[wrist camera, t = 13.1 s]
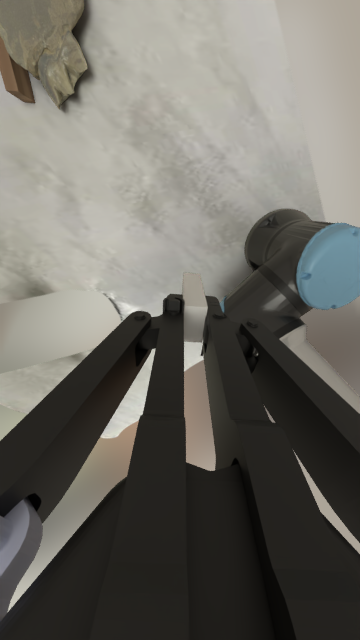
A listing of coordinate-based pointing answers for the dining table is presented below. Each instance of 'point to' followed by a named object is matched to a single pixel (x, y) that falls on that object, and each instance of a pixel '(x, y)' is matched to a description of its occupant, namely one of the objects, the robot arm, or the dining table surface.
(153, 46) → the dining table surface
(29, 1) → the jagged rock
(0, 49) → the brown wooden l-shaped piece
